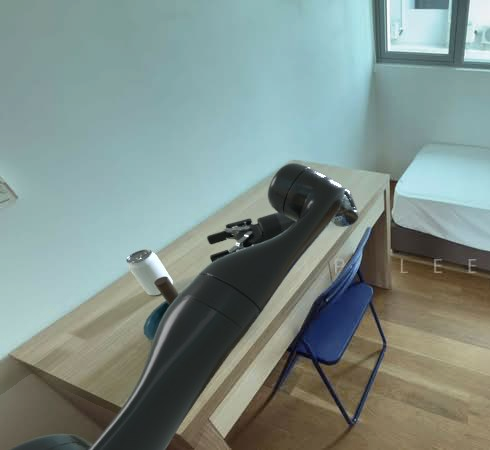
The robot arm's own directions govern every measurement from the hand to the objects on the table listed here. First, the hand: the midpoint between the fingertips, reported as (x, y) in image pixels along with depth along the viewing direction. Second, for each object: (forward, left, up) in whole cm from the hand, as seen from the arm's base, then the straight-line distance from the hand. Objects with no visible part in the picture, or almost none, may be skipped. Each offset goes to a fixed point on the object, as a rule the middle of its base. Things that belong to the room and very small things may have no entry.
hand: (209, 250), depth 70 cm
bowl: (-5, +10, -19) cm, 22 cm away
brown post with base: (-5, +10, -19) cm, 22 cm away
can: (+9, +26, -20) cm, 33 cm away
